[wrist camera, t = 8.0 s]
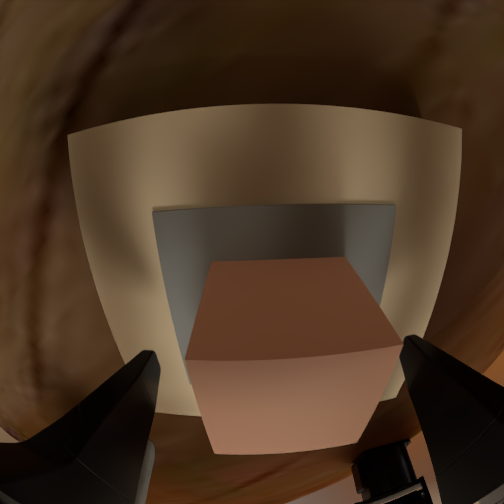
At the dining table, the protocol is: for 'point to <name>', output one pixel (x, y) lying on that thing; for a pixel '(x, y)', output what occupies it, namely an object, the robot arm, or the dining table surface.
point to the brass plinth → (260, 213)
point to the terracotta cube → (288, 355)
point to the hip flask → (145, 473)
